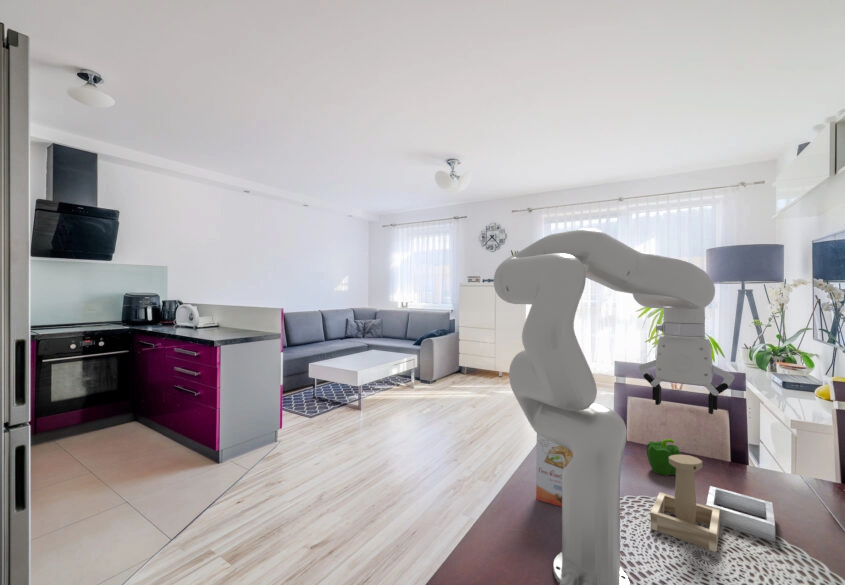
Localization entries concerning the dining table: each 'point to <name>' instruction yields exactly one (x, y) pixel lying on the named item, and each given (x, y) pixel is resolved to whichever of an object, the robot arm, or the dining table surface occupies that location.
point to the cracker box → (550, 470)
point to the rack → (686, 523)
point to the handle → (685, 486)
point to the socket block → (740, 519)
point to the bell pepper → (662, 456)
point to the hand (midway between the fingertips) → (683, 408)
